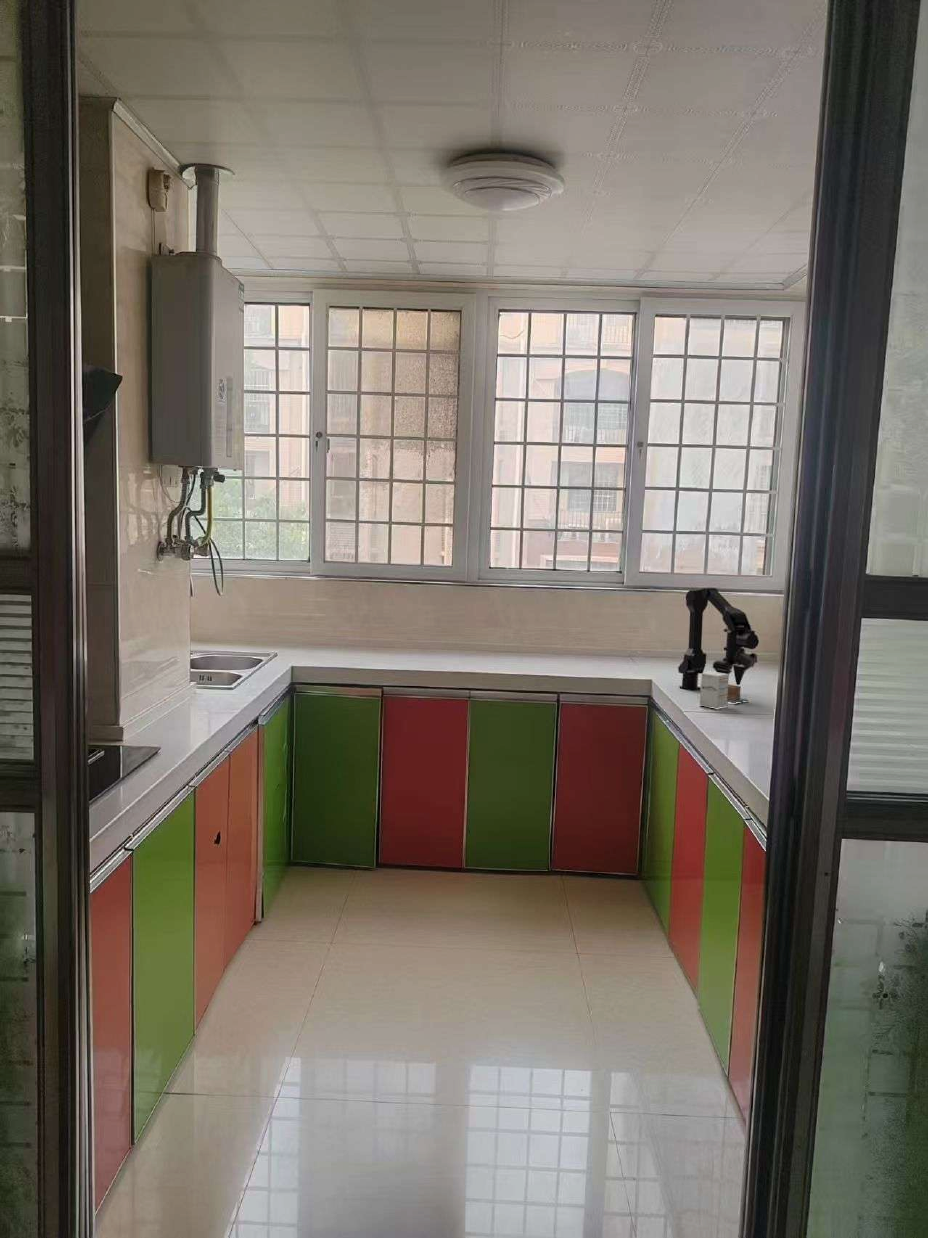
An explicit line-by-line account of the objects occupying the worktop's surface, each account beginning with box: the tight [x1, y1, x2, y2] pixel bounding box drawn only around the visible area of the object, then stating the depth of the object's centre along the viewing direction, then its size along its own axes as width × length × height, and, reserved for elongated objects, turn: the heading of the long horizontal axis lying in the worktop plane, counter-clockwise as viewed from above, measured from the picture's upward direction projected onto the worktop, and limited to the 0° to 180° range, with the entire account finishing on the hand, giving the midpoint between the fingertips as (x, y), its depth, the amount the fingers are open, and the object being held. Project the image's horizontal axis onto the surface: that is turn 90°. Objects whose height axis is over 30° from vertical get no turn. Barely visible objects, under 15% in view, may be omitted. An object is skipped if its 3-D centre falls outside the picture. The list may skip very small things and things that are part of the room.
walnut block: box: [727, 683, 742, 701], centre depth 366 cm, size 5×5×5 cm
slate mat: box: [727, 697, 749, 703], centre depth 366 cm, size 10×9×1 cm
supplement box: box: [699, 670, 730, 708], centre depth 354 cm, size 7×7×13 cm
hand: (731, 686), depth 366 cm, fingers open, 9 cm apart
